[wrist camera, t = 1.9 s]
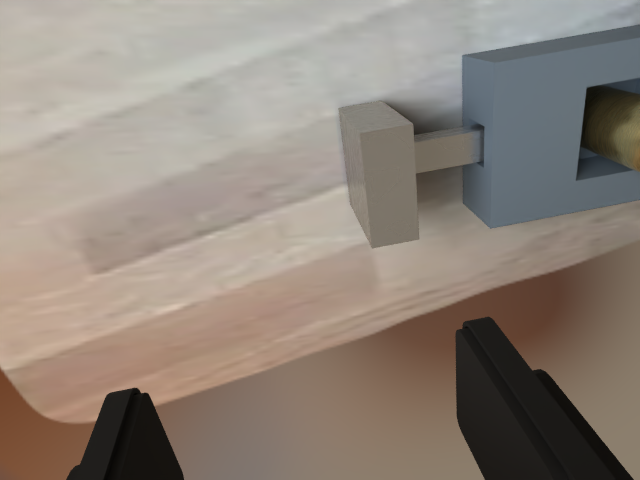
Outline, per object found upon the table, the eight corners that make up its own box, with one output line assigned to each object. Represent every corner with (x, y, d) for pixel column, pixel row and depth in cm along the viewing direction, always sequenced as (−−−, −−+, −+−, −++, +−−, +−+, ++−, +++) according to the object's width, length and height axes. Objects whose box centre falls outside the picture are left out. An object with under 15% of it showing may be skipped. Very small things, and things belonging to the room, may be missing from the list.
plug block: (487, 81, 27) (545, 100, 22) (485, 179, 30) (536, 216, 24) (338, 108, 27) (359, 133, 21) (350, 204, 29) (372, 248, 24)
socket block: (655, 22, 27) (715, 24, 24) (630, 171, 31) (678, 192, 28) (462, 55, 27) (494, 62, 23) (462, 203, 31) (490, 228, 27)
